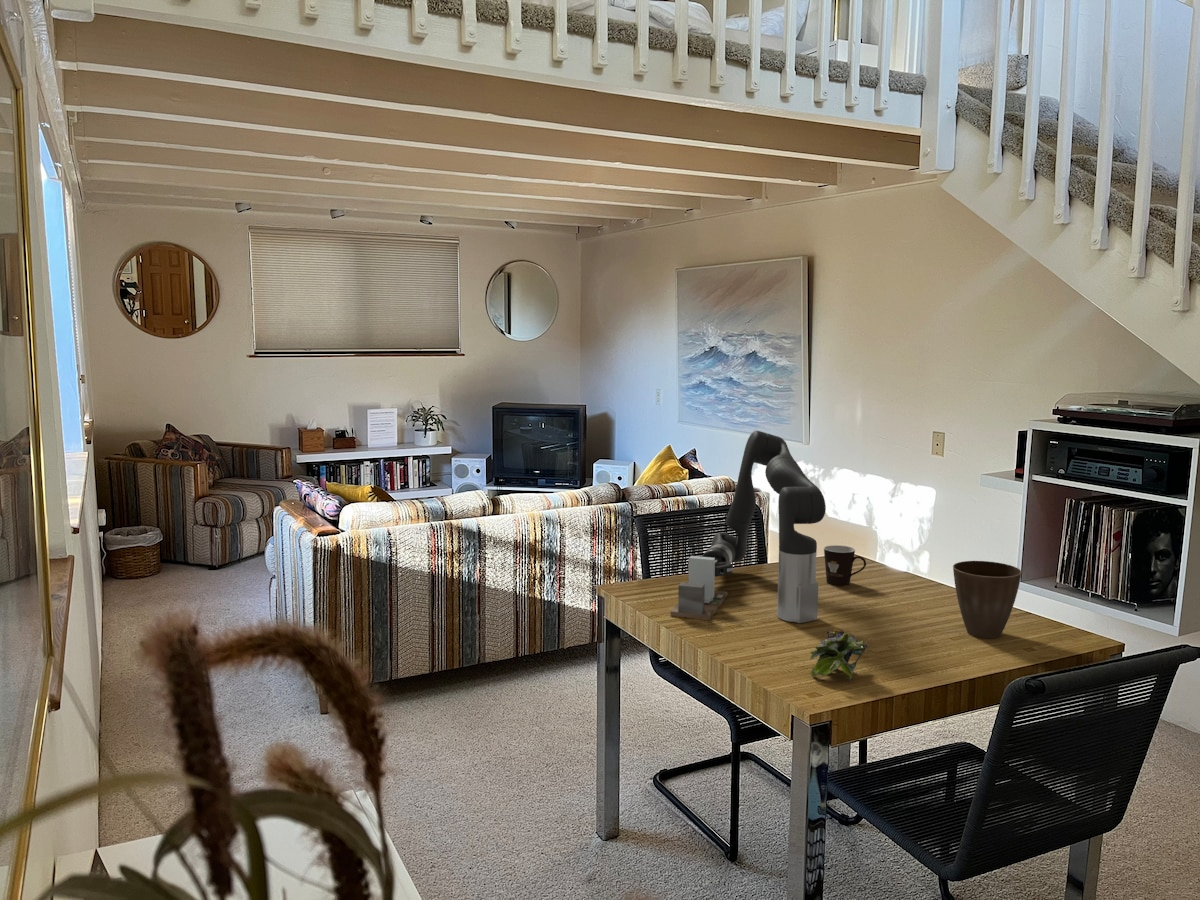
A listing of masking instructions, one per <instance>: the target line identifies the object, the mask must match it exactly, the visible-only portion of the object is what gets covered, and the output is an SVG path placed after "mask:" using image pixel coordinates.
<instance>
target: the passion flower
mask: <svg viewBox="0 0 1200 900" xmlns="http://www.w3.org/2000/svg"><path fill="white" fill-rule="evenodd" d="M820 642H821V644H820V643H817V645H816V646H814V648H815V650H810V651H809V653H810V654H811V656H810V661H812V659H814V658H817V657H818V658H817V661H816V663H815V665H814V667H812V669H811V671H810V673H811V677H812V678H813V677H817V676H819V675H821V676H822V677H826V676H828V675H830V674H832V673H833V672H835V671H836V670H837V669H839V668H841V670H842V672H844V673H845V674H846V675H847V676H849V678H848V679H849V680H848V683H851V679H852V677H853V672H854V670H855V668H856V666H857V663H858V662H859V660H860V658H861V657H862V656H863V654H864V653H865V651H867V649H868V647H869V645H868V641H866V642H865V640H861V641H858V637H856V636H855V635H850V634H849V633H848V632H846V633H845V631H844V630H838V629H833V631H831V630H827V631H826V638H824V640H822V641H821V640H820ZM852 655H856V656H858V657H857V658H856V660H855V661H854V662H853V663H849V661H850V658H851V657H852Z"/></svg>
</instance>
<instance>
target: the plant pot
mask: <svg viewBox="0 0 1200 900" xmlns="http://www.w3.org/2000/svg"><path fill="white" fill-rule="evenodd" d="M952 570H953V580H954V586H955V587H954V588H955V592H956V597H957V598H956V599H957V602H958V607H959V610H960V614H961V616H962V617H961V618H962V620H963V624H964V626H965V627H964V628H965V629H966V632H967V633H968V634H969V635H970V636H973V637H975V638H976V637H977V638H982V639H997V638H1000V637H1001V635H1002V634H1003V631H1004V630H1005V627H1006V625H1007V623H1008V621H1009V618H1010V616H1011V613H1012V611H1013V607H1014V605H1015V601H1016V599H1017V595H1018V591H1019V589H1020V588H1019V587H1020V582H1021V577H1022V570H1021V569H1020V568H1018V567H1016V566H1013V565H1011V564H1006V563H1002V562H995V561H987V560H965V561H959V562H956V563H954V564H953V565H952Z"/></svg>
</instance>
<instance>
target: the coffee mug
mask: <svg viewBox="0 0 1200 900" xmlns="http://www.w3.org/2000/svg"><path fill="white" fill-rule="evenodd" d="M855 552H856V549H855V548H854V547H851V546H847V545H841V544H840V545H838V544H834V545H831V544H830V545H826V546H824V547H823V554H824V567H825V577H826V578H825V580H826V583H827V584H828V585H830V584H831V586H834V585H836V587H847V586H849V585H850V584H851V577H852V576H853V575H856V574H858V573H860V572H862V571H863V570H865V568H866V566H867V562H866V559H865V558H864V557H863V556H860V555H856V556H855ZM856 559H861V561H862V562H863V566H862V567H861V568H860V569H858V570H856V571H854V572H852V571H853V565H854V562H855V560H856ZM845 585H846V586H845Z"/></svg>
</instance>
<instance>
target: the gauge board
mask: <svg viewBox="0 0 1200 900" xmlns="http://www.w3.org/2000/svg"><path fill="white" fill-rule="evenodd" d="M677 597H678V598H677V599H678V602H677V604H676V605H675V606H673V608H672V609H671V610H670V617H675V616H677V617H678V618H684V617H687V619H695V620H703V619H705V620H704V621H710V620H711V619H712V618H713V616H714V615H715V614H716V612H717V611H718V610H719V608H720V607H721V605H722V604H723V603H724V601H725V600H726V599H725V598H727V597H728V591H724V590H714V597H717V598H721V600H713V601H710V602H709V603H704V598H705V584H696V583H689V582H683V581H681V582H680V583H679V584H678V596H677ZM722 602H723V603H722ZM719 606H720V607H719ZM679 616H680V617H679ZM710 618H711V619H710Z"/></svg>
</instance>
